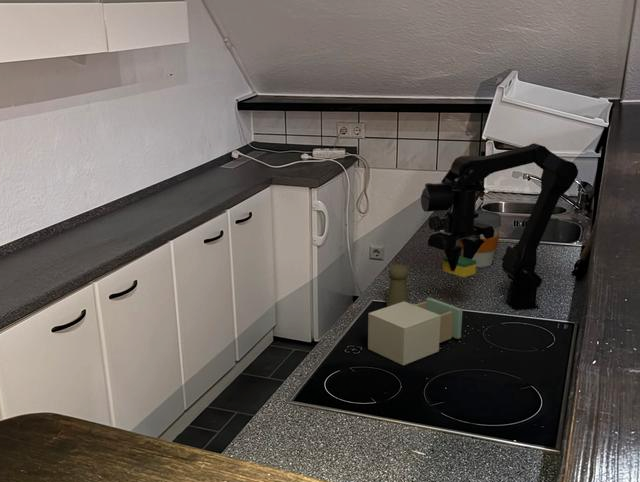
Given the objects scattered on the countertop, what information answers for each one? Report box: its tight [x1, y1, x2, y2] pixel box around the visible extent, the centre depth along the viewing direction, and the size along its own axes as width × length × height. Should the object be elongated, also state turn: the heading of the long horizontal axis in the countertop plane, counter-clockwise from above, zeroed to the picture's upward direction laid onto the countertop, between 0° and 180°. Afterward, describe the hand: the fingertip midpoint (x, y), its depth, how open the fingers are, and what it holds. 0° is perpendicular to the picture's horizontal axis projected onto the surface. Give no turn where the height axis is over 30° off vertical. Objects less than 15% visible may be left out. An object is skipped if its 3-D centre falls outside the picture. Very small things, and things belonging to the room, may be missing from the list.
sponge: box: [442, 255, 477, 278], centre depth 194 cm, size 7×4×4 cm, turn 36°
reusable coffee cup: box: [458, 209, 502, 268], centre depth 233 cm, size 13×13×15 cm
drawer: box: [414, 297, 463, 344], centre depth 181 cm, size 12×10×7 cm
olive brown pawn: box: [385, 264, 410, 307], centre depth 202 cm, size 6×6×11 cm
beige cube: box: [367, 301, 441, 366], centre depth 176 cm, size 12×12×9 cm
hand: (459, 268), depth 195 cm, fingers closed on sponge, 4 cm apart
